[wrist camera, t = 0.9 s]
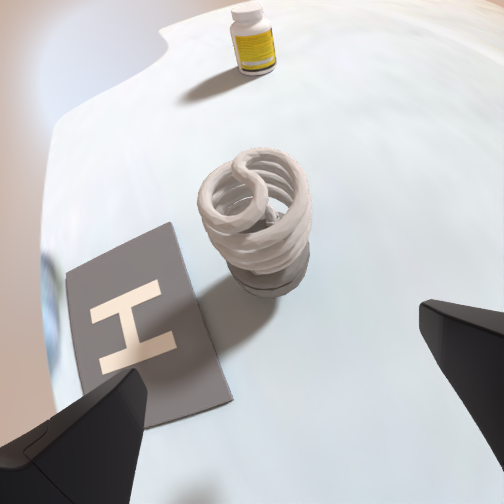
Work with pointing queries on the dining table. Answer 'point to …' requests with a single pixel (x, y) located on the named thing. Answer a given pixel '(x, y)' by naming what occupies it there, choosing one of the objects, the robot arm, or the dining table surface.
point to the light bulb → (259, 220)
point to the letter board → (145, 326)
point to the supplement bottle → (252, 40)
